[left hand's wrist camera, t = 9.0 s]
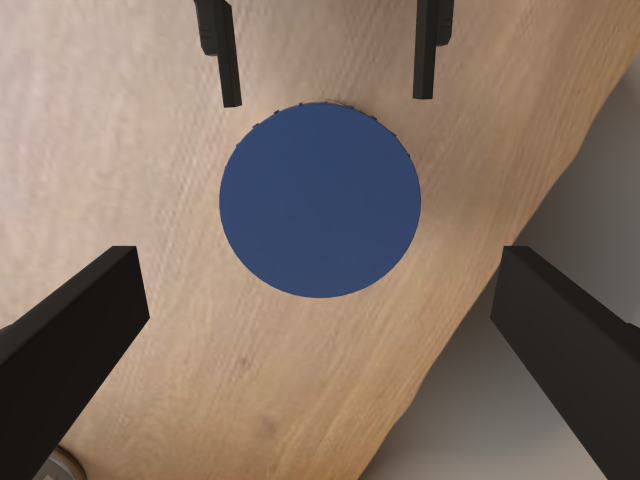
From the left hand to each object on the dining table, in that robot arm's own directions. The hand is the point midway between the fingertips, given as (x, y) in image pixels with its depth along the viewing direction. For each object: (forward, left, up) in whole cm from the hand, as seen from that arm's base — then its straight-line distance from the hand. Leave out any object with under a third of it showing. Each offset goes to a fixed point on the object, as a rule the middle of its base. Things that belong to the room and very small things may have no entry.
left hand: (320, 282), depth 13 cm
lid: (0, 0, -8) cm, 8 cm away
